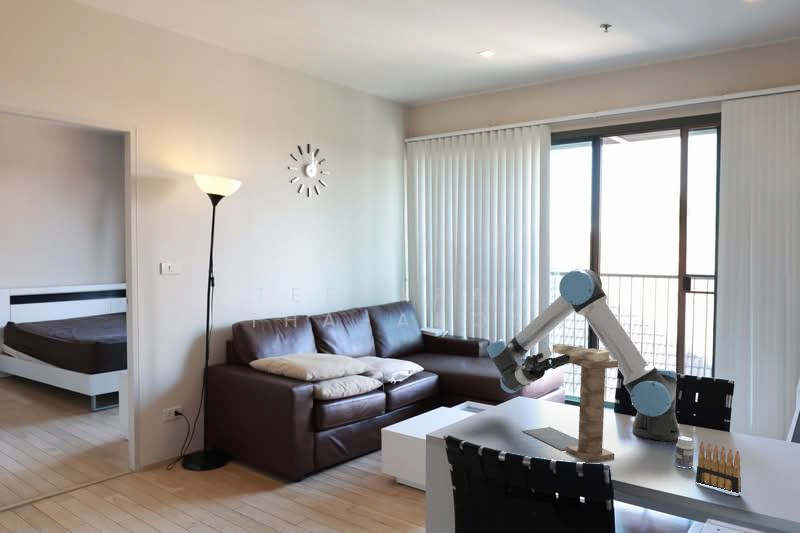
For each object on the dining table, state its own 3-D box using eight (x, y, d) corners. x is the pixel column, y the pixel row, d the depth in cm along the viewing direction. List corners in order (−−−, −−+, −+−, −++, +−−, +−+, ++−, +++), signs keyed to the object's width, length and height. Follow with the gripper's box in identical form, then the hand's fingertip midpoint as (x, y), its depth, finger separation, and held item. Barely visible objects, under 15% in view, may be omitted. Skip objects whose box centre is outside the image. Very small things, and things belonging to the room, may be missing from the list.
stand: (566, 451, 179) (569, 356, 178) (590, 447, 183) (594, 354, 182) (589, 462, 170) (593, 362, 169) (614, 458, 174) (618, 360, 173)
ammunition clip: (740, 496, 149) (743, 450, 149) (738, 497, 148) (740, 452, 148) (698, 482, 157) (700, 439, 157) (695, 484, 156) (697, 440, 156)
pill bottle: (672, 462, 172) (673, 435, 172) (688, 463, 172) (689, 435, 171) (679, 468, 167) (680, 440, 167) (695, 469, 167) (697, 441, 167)
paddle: (548, 352, 184) (549, 345, 184) (561, 350, 188) (561, 343, 188) (597, 361, 171) (597, 353, 171) (609, 359, 175) (609, 351, 175)
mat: (522, 431, 198) (522, 430, 198) (549, 428, 203) (550, 426, 203) (561, 450, 180) (561, 449, 180) (590, 446, 185) (590, 445, 185)
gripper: (561, 379, 207) (599, 359, 190) (503, 384, 196) (538, 363, 179) (554, 359, 210) (591, 338, 193) (498, 363, 200) (532, 341, 183)
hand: (566, 350), depth 186 cm, fingers open, 13 cm apart
